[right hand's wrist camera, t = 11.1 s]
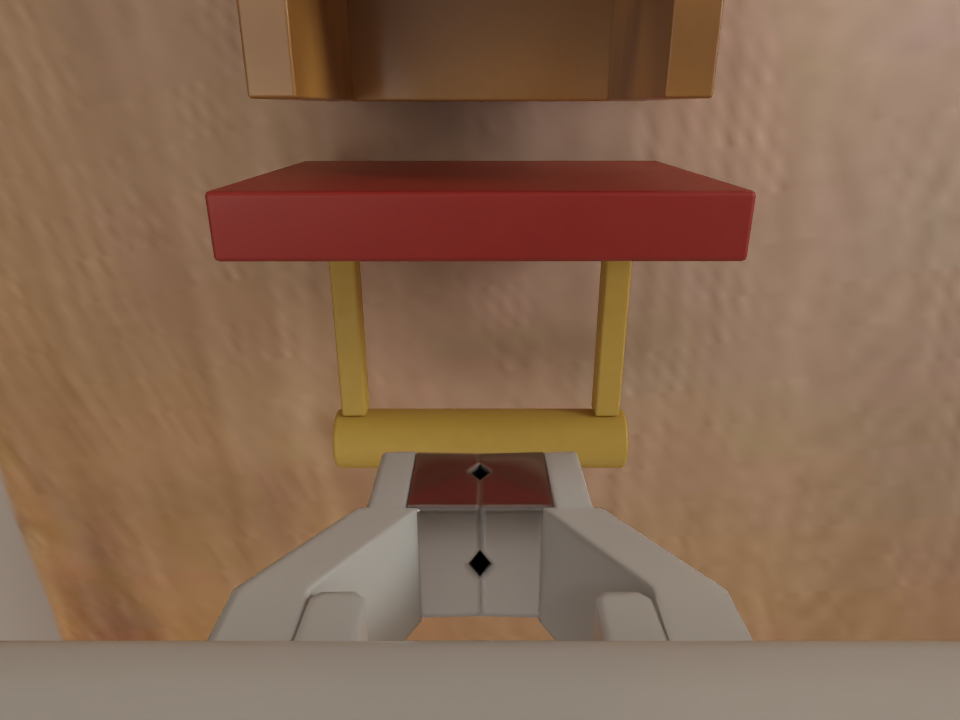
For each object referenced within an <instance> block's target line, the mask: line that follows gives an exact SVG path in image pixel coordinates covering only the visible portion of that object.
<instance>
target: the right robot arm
mask: <svg viewBox="0 0 960 720" xmlns="http://www.w3.org/2000/svg"><path fill="white" fill-rule="evenodd" d="M457 616H502V617H539V621H540V622H541V623H542V625H543V626H544V627H545V628H546V629H547V631H548V632H549V633H550V634H551V636H552V637H553V638H554V639H555V640H556V641H405V640H406V639H407V637H408V636H409V635H410V634H411V632H412V631H413V630H414V629H415V628H416V626H417V625H418V624H419V623H420V622H421V617H457ZM0 720H960V641H753V640H752V638H751V636H750V634H749V632H748V630H747V628H746V626H745V624H744V622H743V620H742V618H741V616H740V614H739V612H738V610H737V609H736V607H735V605H734V603H733V601H732V599H731V597H730V595H729V593H728V591H727V590H726V589H725V588H723V587H722V586H720V585H719V584H717V583H716V582H714V581H713V580H711V579H710V578H708V577H706V576H705V575H703V574H702V573H700V572H699V571H697V570H696V569H694V568H693V567H691V566H690V565H688V564H687V563H685V562H684V561H682V560H681V559H679V558H678V557H676V556H674V555H673V554H671V553H670V552H668V551H667V550H665V549H664V548H662V547H661V546H659V545H658V544H656V543H655V542H653V541H652V540H650V539H649V538H647V537H646V536H644V535H643V534H641V533H639V532H638V531H636V530H635V529H633V528H632V527H630V526H629V525H627V524H626V523H624V522H623V521H621V520H620V519H618V518H617V517H615V516H614V515H612V514H611V513H609V512H607V511H606V510H604V509H603V508H593V506H592V503H591V500H590V496H589V493H588V489H587V486H586V482H585V479H584V475H583V472H582V468H581V465H580V462H579V458H578V455H577V453H576V452H574V451H570V452H548V453H543V452H524V453H482V454H480V453H436V452H418V453H416V452H415V451H412V452H385V453H384V454H383V455H382V457H381V461H380V464H379V468H378V471H377V475H376V478H375V482H374V485H373V489H372V492H371V496H370V499H369V503H368V506H367V508H357V509H356V510H354V511H352V512H351V513H349V514H348V515H346V516H345V517H343V518H342V519H340V520H339V521H337V522H336V523H334V524H333V525H331V526H330V527H328V528H326V529H325V530H323V531H322V532H320V533H319V534H317V535H316V536H314V537H313V538H311V539H310V540H308V541H307V542H305V543H304V544H302V545H300V546H299V547H297V548H296V549H294V550H293V551H291V552H290V553H288V554H287V555H285V556H284V557H282V558H281V559H279V560H278V561H276V562H274V563H273V564H271V565H270V566H268V567H267V568H265V569H264V570H262V571H261V572H259V573H258V574H256V575H255V576H253V577H252V578H250V579H248V580H247V581H245V582H244V583H242V584H241V585H239V586H238V587H236V588H235V589H234V590H233V592H232V594H231V596H230V597H229V599H228V601H227V603H226V605H225V607H224V609H223V611H222V613H221V615H220V617H219V619H218V621H217V623H216V624H215V626H214V628H213V630H212V632H211V634H210V636H209V638H208V640H207V641H0Z"/></svg>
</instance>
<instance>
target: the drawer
mask: <svg viewBox="0 0 960 720" xmlns="http://www.w3.org/2000/svg"><path fill="white" fill-rule="evenodd" d="M723 3H724V0H237V7H238V15H239V24H240V32H241V40H242V49H243V57H244V65H245V74H246V82H247V90H248V96H249V98H252V99H279V100H306V101H646V100H671V99H697V98H710V97H712V95H713V87H714V79H715V70H716V62H717V54H718V45H719V37H720V28H721V20H722V11H723ZM755 197H756V195H755V192H753V191H751V190H748V189H744V188H741V187H738V186H735V185H732V184H728V183H725V182H722V181H719V180H715V179H712V178H709V177H706V176H702V175H699V174H696V173H693V172H690V171H686V170H683V169H680V168H677V167H673V166H670V165H667V164H664V163H660V162H657V161H305V162H302V163H298V164H295V165H292V166H289V167H285V168H282V169H279V170H276V171H273V172H269V173H266V174H263V175H260V176H256V177H253V178H250V179H247V180H244V181H240V182H237V183H234V184H231V185H227V186H224V187H221V188H218V189H214V190H211V191H209V192H206V195H205V198H206V205H207V212H208V218H209V225H210V232H211V238H212V245H213V252H214V257H215V260H218V261H329V266H330V278H331V289H332V301H333V313H334V325H335V336H336V348H337V360H338V371H339V383H340V395H341V406H342V409H341V410H339V411H338V412H337V415H336V417H335V421H334V427H333V455H334V459H335V463H336V465H337V466H338V467H340V468H379V464H380V461H381V457H382V455H383V454H384V453H385V452H412V451H415V452H416V453H418V452H436V453H480V454H482V453H524V452H543V453H548V452H570V451H574V452H576V453H577V455H578V458H579V462H580V465H581V468H621V467H623V466H624V465H625V463H626V460H627V456H628V445H629V437H628V426H627V420H626V417H625V414H624V412H623V410H621V409H620V397H621V385H622V373H623V362H624V350H625V338H626V326H627V314H628V302H629V291H630V279H631V267H632V261H742V260H745V259H746V257H747V251H748V244H749V237H750V230H751V224H752V217H753V210H754V203H755ZM360 261H601V273H600V288H599V303H598V318H597V333H596V348H595V362H594V377H593V392H592V408H593V409H368V408H369V392H368V377H367V363H366V348H365V333H364V319H363V304H362V290H361V275H360Z"/></svg>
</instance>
